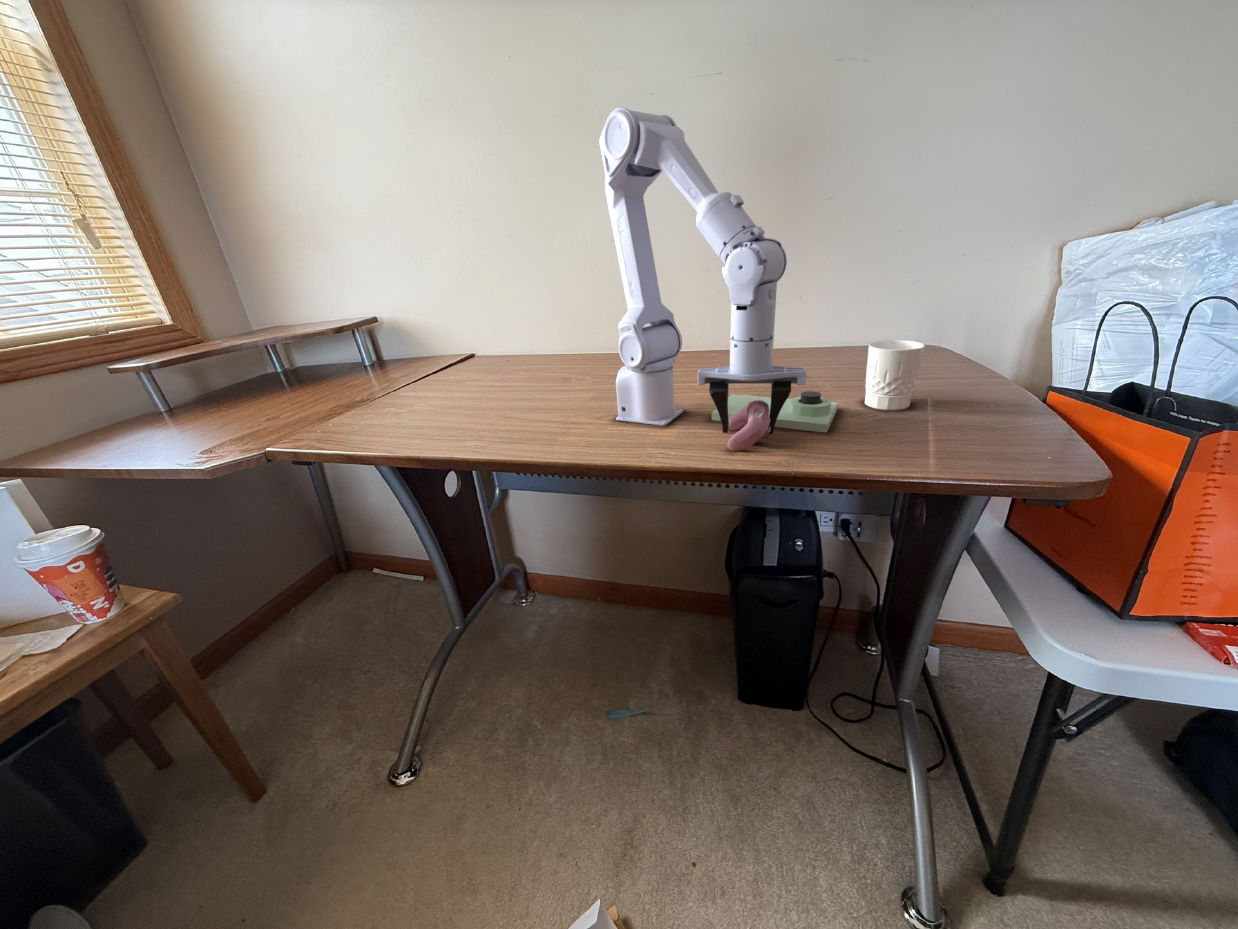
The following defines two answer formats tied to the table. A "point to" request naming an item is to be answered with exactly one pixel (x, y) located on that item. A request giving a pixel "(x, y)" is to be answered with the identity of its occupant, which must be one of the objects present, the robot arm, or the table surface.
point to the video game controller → (749, 425)
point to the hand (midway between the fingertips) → (748, 431)
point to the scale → (789, 412)
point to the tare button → (810, 398)
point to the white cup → (892, 373)
